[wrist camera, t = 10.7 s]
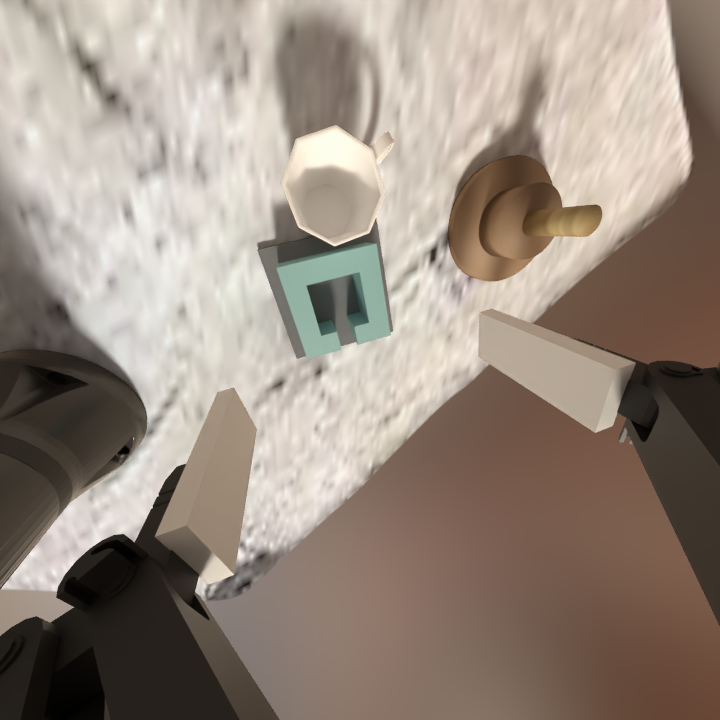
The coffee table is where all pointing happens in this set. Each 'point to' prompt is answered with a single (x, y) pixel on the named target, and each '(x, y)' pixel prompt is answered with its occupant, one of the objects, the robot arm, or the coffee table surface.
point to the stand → (511, 218)
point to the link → (326, 267)
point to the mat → (320, 287)
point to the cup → (335, 184)
